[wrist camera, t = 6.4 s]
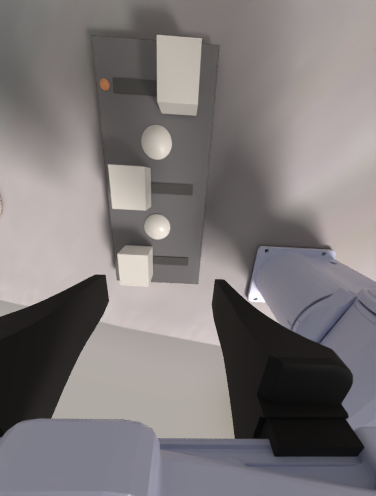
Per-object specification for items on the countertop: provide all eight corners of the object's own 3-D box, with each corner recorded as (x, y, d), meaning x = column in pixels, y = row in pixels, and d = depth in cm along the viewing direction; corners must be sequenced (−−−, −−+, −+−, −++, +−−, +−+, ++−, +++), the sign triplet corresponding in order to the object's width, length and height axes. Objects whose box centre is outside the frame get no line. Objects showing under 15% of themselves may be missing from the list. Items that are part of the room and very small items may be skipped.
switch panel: (216, 57, 15) (219, 44, 14) (197, 277, 23) (198, 284, 22) (100, 48, 15) (90, 34, 14) (121, 274, 23) (116, 280, 22)
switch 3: (199, 61, 14) (201, 38, 12) (196, 115, 15) (197, 104, 13) (161, 58, 14) (156, 34, 12) (161, 113, 15) (157, 101, 13)
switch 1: (150, 168, 17) (144, 166, 15) (151, 206, 18) (145, 210, 16) (118, 166, 17) (107, 164, 15) (121, 204, 18) (112, 208, 16)
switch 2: (152, 246, 20) (147, 255, 18) (153, 274, 21) (148, 286, 19) (125, 245, 20) (117, 254, 17) (127, 273, 21) (120, 285, 19)
